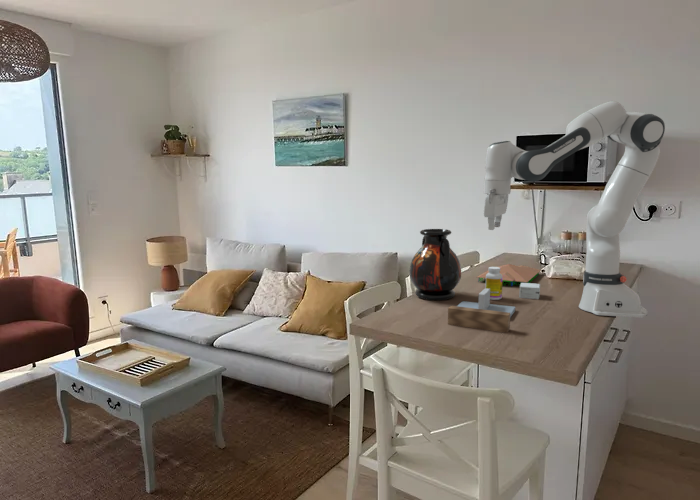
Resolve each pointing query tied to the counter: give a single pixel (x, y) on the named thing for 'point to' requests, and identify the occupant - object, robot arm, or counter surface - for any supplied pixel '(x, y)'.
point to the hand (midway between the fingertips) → (494, 228)
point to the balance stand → (487, 304)
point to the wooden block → (479, 318)
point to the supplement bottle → (494, 283)
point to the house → (515, 274)
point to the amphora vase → (435, 266)
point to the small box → (529, 290)
